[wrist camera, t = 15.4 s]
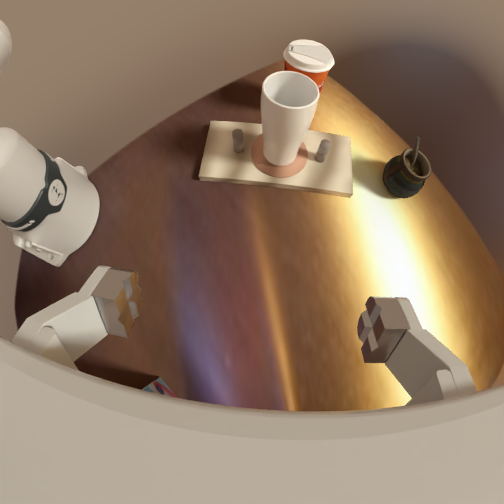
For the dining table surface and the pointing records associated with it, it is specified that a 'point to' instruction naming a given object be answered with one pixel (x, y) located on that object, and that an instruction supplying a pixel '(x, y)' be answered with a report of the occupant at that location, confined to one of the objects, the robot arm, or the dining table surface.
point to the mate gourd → (407, 172)
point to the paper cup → (309, 60)
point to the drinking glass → (286, 114)
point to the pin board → (267, 174)
